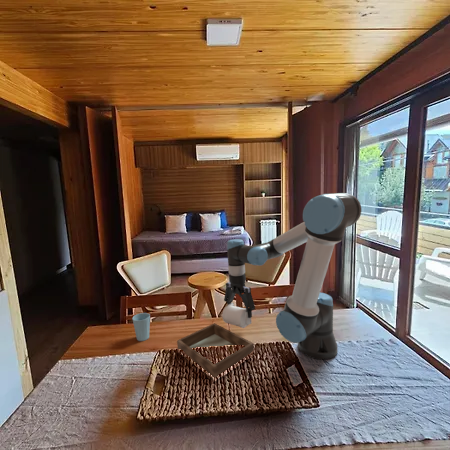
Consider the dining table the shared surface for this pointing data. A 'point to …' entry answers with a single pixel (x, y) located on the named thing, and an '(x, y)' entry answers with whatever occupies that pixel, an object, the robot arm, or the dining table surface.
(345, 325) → the dining table surface
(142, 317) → the cup
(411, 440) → the dining table surface
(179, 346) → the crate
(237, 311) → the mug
